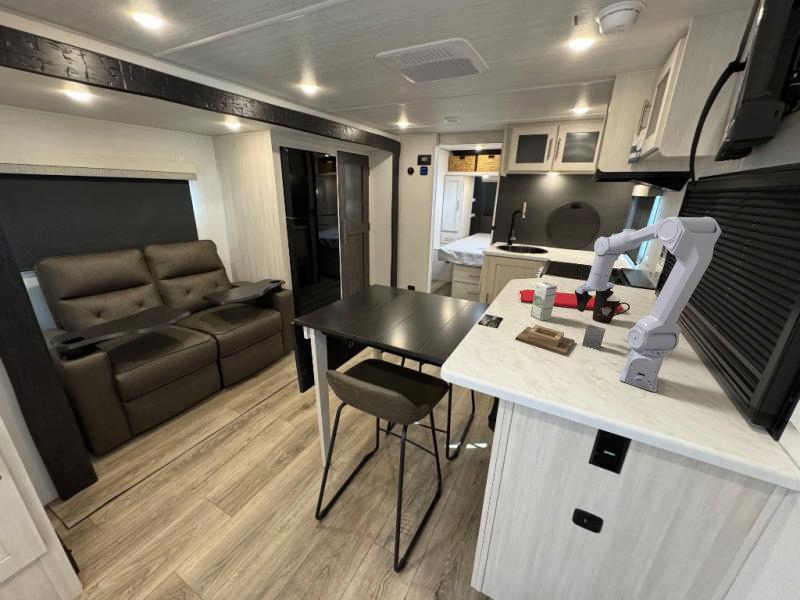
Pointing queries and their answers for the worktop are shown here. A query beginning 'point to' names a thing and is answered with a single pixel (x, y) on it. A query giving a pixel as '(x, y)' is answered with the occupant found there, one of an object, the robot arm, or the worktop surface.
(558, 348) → the slot block
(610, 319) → the coffee mug
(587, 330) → the brushed grey block
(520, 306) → the worktop surface
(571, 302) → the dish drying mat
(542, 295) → the syrup box
